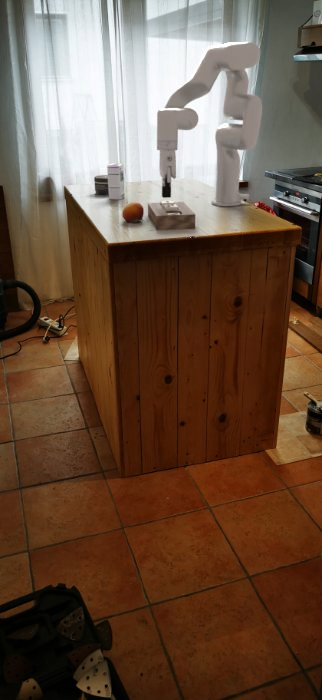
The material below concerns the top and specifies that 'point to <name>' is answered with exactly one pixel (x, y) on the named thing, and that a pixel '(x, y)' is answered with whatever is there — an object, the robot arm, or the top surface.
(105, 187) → the jar
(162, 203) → the button
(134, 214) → the fruit
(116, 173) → the syrup box
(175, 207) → the button
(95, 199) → the top surface
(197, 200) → the top surface
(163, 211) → the wooden slot board
